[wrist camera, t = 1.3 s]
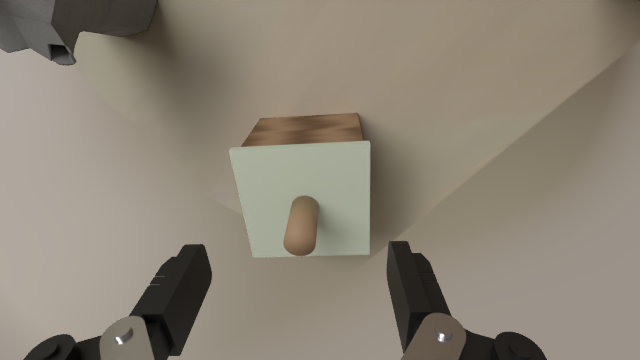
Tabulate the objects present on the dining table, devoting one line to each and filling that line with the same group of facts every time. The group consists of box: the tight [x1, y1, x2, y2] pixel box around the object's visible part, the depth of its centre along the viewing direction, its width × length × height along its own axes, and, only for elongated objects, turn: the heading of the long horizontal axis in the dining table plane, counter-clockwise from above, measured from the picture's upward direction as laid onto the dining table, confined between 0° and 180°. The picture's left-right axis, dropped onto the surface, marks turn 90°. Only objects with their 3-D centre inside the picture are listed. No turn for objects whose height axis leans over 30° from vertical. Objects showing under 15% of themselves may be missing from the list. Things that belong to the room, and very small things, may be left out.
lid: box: [229, 141, 370, 257], centre depth 32 cm, size 14×14×7 cm
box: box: [241, 113, 363, 147], centre depth 40 cm, size 13×13×11 cm
